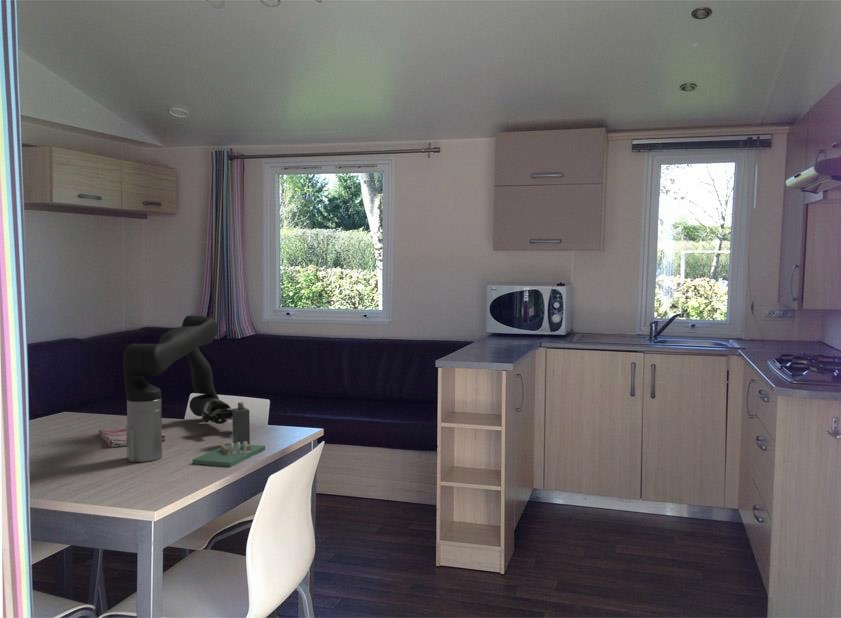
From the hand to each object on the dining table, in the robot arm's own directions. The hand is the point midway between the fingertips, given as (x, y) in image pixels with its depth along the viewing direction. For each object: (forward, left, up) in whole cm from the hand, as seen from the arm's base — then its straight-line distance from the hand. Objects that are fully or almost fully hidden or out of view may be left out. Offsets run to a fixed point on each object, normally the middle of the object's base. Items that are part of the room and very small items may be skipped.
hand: (230, 419), depth 228 cm
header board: (-7, -25, -6) cm, 26 cm away
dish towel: (-28, +15, -7) cm, 33 cm away
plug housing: (0, -11, -6) cm, 12 cm away
